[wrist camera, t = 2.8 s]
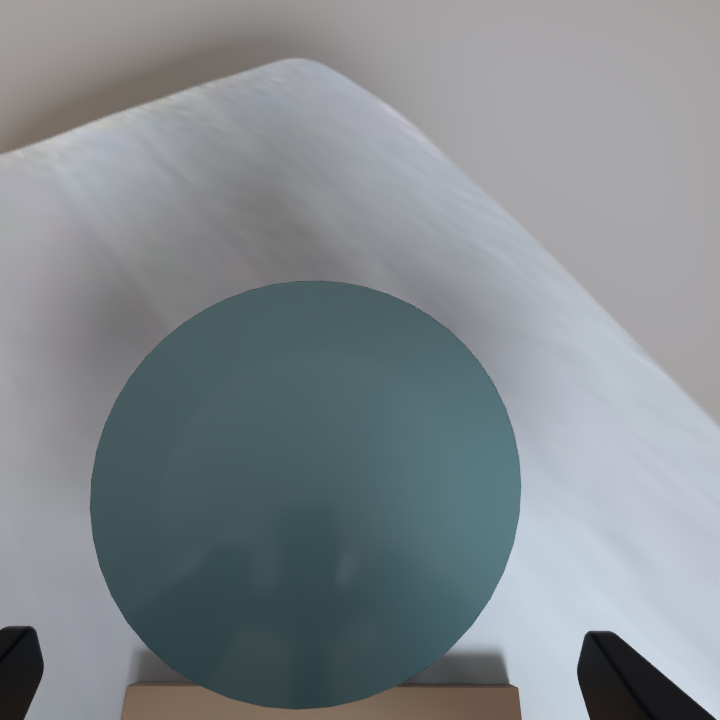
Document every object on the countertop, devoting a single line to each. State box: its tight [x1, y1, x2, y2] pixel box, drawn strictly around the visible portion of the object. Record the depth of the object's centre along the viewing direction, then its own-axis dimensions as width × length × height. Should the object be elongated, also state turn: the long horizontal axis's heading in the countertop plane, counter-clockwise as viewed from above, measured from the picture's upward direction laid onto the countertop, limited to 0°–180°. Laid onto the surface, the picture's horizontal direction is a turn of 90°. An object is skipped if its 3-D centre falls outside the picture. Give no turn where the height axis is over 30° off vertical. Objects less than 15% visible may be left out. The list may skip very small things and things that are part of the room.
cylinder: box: [90, 281, 521, 710], centre depth 12 cm, size 5×5×13 cm
